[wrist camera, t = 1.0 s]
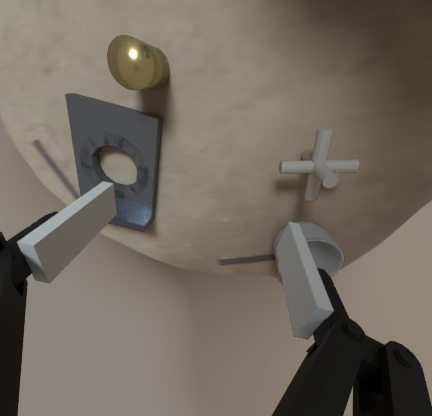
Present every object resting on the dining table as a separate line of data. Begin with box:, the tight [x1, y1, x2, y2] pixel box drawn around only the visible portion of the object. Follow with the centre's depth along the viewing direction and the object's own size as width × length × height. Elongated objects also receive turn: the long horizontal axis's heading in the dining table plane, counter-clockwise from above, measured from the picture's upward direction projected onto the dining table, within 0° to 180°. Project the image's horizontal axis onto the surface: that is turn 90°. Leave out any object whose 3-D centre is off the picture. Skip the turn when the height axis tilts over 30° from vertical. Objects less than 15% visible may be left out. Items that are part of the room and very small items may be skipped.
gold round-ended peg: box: [107, 35, 170, 90], centre depth 25 cm, size 5×5×7 cm
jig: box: [65, 93, 162, 232], centre depth 35 cm, size 20×14×5 cm
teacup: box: [274, 221, 344, 277], centre depth 38 cm, size 14×11×8 cm
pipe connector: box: [279, 128, 360, 201], centre depth 28 cm, size 10×10×10 cm
